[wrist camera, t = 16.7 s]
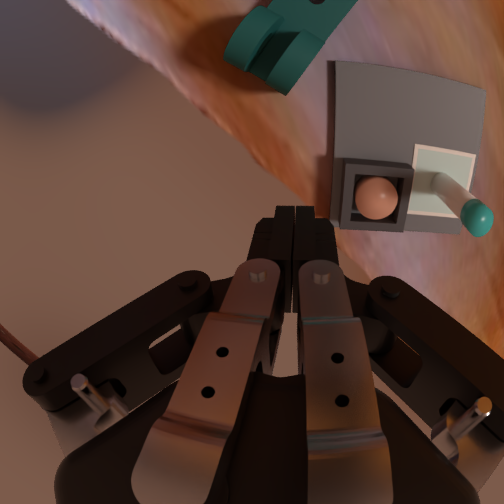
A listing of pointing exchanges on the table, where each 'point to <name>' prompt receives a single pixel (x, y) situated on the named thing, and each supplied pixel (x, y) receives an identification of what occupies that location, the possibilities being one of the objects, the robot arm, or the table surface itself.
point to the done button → (375, 196)
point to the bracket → (284, 39)
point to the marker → (463, 204)
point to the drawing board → (403, 143)
